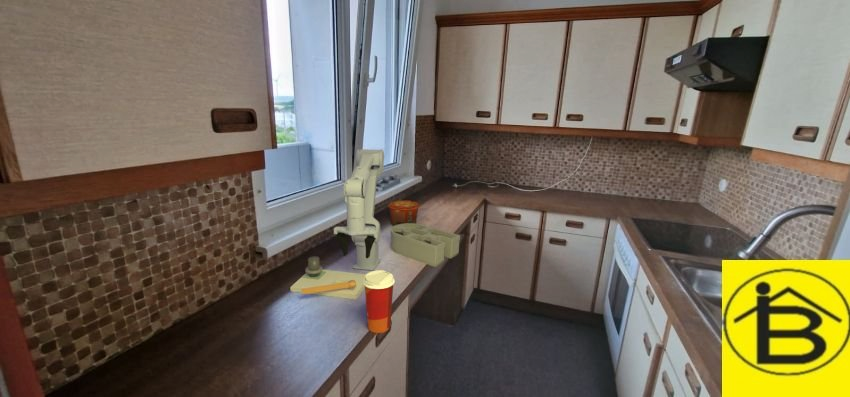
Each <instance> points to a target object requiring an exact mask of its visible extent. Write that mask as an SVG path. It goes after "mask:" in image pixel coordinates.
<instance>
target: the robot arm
mask: <svg viewBox="0 0 850 397" xmlns="http://www.w3.org/2000/svg"><path fill="white" fill-rule="evenodd" d="M355 162H356V164H357V165H356V167H354V169H353V170H352V173H351V174H350V177H349V178H348V179H347V180H345V181H344V183H343V196H344V202H345V203H346V226H335V227H334V228H333V234H334V235H336V236H335V240H336V241H337V243H338V244H339V246H340V248H341V252H342V255H343V257H346V256H347V255H348V254H349V246H348V242H349V241H348V240H349V236H351V240H352V242H353V243H354V245H355V246H356V263H355V264H354V265H353V266H352V269H356V270H366V271H375V269H376V268H377V266H378V265H379V263H380V262H381V258H379V244H378V243H379V242H380V241H381V223H380V221H379V220H377V219H376V218H375V217H374V215H375V205H376V194H377V182H378V178H379V176H380V175H381V174H383V172H384V166H385V152H384V150H383V149H366V148H365V149H362V148H358V149H357V150H356V154H355Z"/></svg>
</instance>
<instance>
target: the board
mask: <svg viewBox="0 0 850 397" xmlns="http://www.w3.org/2000/svg"><path fill="white" fill-rule="evenodd" d="M366 274H367V273H366ZM366 274H365V273H359V272H358V273H357V272H348V271H339V270H330V269H323V270H322V272H320V275H319V276H317V277H310V276H309V274H308V273H306V272H305V274H303V275H302V276H301V277H300V278H299V279H298V280H297V281H296V282H295V283H292V285H291V286H290V287H289V288H290V292H293V293H300V294H302V289H303V288H310V287H317V286H323V285H330V284H337V283H344V282H348V281H350V280H355V281H356V287H354V288H349V287H348V288H341V289H335V290H328V291H322V292H315V293H309V294H308V295H316V296H317V295H318V296H325V297H326V296H327V297H334V298H342V299H348V300H349V299H351V300H357V299H358V298H359V297H360V295H361V294H362V292H363V291H364V290H365V285H364V284H363V280H364V279H365V276H366Z"/></svg>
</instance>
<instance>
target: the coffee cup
mask: <svg viewBox="0 0 850 397" xmlns="http://www.w3.org/2000/svg"><path fill="white" fill-rule="evenodd" d="M395 282H396V281H395V278H394V275H393V274H392V273H390V272H389V271H386V270H380V269H379V270H371V271H369V272H367V273H366V276H365V279H364V280H363V284H364V285H365V288H364V293H365V306H366V307H365V308H366V317H367V318H366V319H367V320H366V321H367V327H368V331H370V333H373V334H383V333H386V332H388V331H389V330H390V328H391V320H392V319H391V318H392V311H393V310H392V308H393V297H394V296H393V294H394V293H393V292H394V285H395Z"/></svg>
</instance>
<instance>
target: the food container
mask: <svg viewBox="0 0 850 397" xmlns="http://www.w3.org/2000/svg"><path fill="white" fill-rule="evenodd" d="M387 207H388V210H389V218H390V225H392V227H393V226H395V225H398V224H406V223H413V224H417V218H418V211H419V209H420V204H419V203H418V202H417V201H412V200H402V199H401V200H400V199H399V200H395V201H391V202H389V203H388V205H387Z"/></svg>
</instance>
